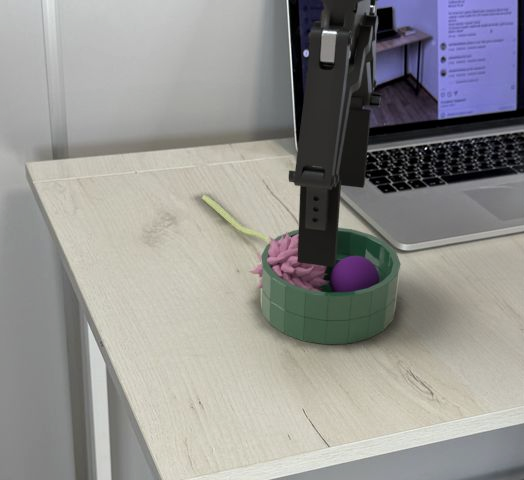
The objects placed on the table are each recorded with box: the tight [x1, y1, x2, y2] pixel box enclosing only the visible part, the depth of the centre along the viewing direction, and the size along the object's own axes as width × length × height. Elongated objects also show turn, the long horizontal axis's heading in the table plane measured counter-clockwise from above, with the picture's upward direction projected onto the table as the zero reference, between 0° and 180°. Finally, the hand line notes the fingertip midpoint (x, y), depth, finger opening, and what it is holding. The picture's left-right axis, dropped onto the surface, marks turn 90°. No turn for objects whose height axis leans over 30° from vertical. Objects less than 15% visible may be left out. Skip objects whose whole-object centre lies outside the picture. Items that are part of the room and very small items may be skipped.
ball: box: [330, 256, 379, 292], centre depth 72 cm, size 4×4×4 cm
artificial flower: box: [201, 194, 330, 291], centre depth 80 cm, size 7×7×25 cm
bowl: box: [260, 226, 402, 345], centre depth 73 cm, size 11×11×5 cm
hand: (333, 220), depth 69 cm, fingers open, 13 cm apart
